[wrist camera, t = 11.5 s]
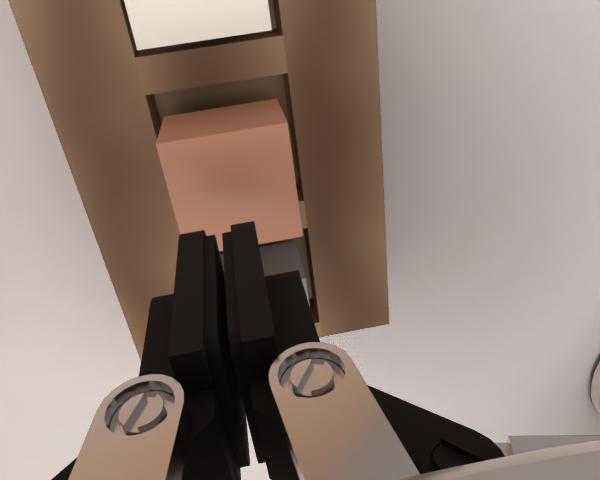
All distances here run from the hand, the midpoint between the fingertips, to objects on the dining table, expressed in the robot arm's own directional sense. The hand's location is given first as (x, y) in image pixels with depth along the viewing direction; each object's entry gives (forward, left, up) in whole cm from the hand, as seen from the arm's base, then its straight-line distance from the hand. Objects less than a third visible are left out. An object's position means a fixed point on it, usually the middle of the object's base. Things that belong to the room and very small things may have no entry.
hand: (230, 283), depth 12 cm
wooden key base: (0, 0, -13) cm, 13 cm away
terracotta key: (0, 0, -8) cm, 8 cm away
